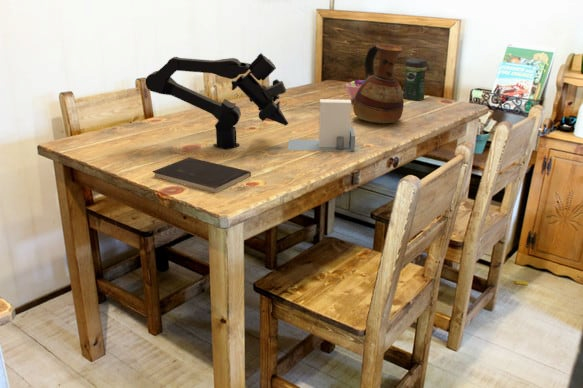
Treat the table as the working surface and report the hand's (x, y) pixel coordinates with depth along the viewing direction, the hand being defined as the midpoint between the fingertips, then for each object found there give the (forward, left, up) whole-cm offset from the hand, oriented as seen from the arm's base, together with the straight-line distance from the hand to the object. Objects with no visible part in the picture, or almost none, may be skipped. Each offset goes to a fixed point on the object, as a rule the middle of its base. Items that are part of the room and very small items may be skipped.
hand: (287, 124), depth 182 cm
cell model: (+79, +15, -8) cm, 81 cm away
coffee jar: (+99, +1, -8) cm, 100 cm away
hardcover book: (-38, +2, -9) cm, 39 cm away
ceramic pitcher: (+51, -6, -8) cm, 52 cm away
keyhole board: (+7, -9, -8) cm, 14 cm away
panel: (+9, -13, -7) cm, 17 cm away
